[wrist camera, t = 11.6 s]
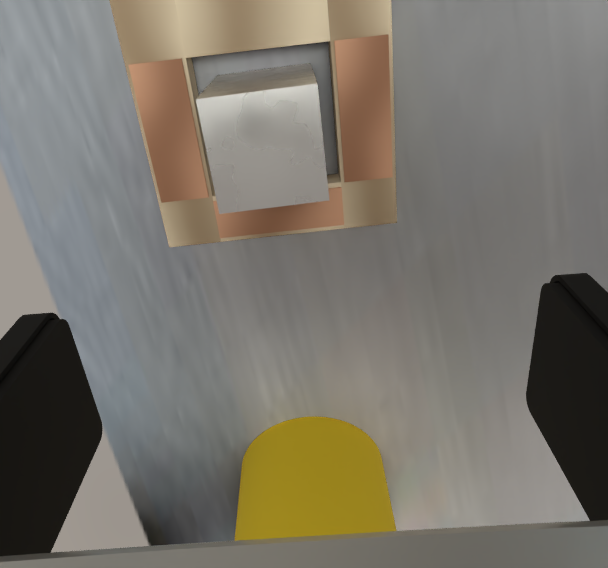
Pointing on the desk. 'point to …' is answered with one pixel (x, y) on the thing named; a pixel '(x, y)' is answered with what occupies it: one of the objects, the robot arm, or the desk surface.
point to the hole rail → (252, 36)
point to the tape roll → (312, 482)
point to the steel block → (264, 138)
